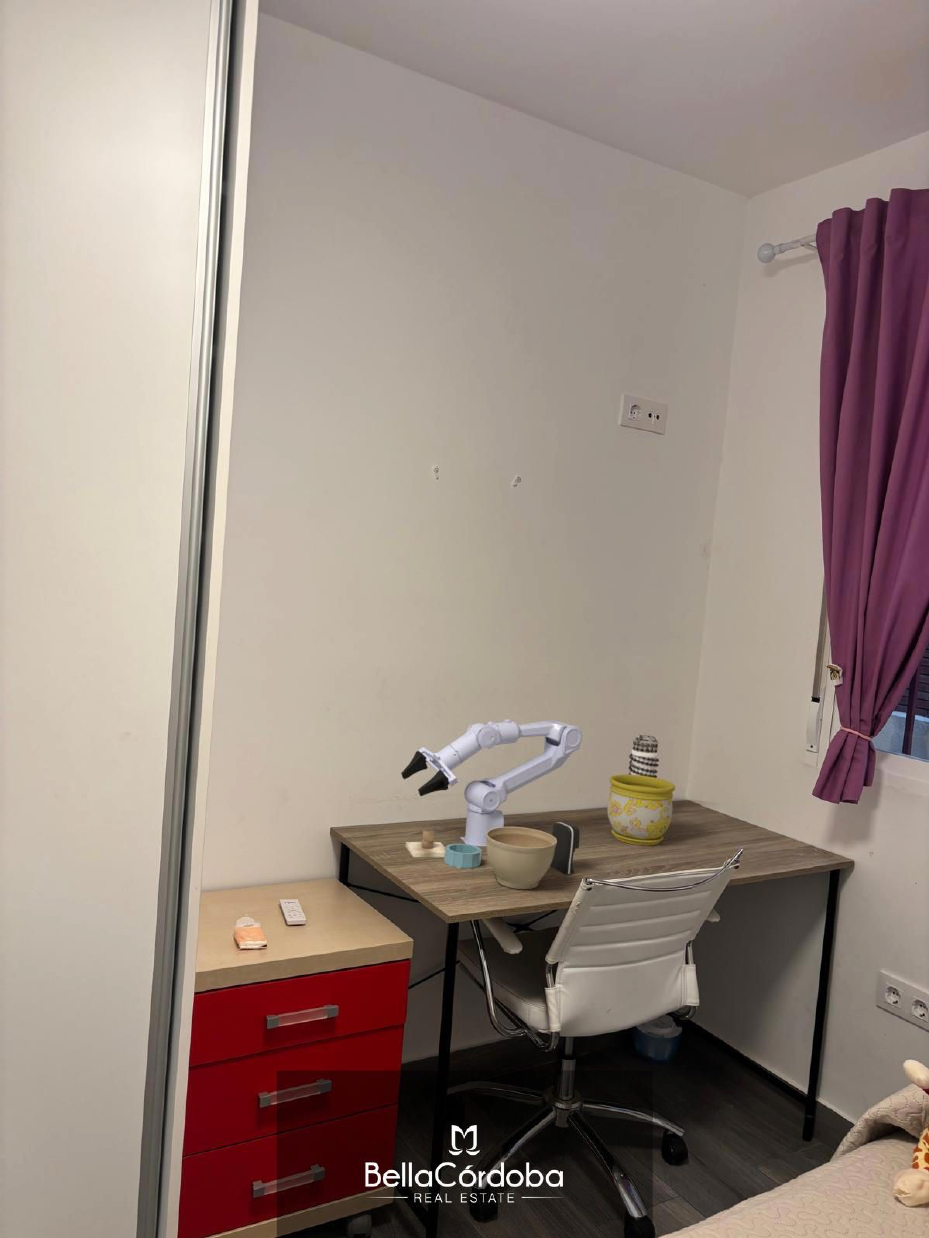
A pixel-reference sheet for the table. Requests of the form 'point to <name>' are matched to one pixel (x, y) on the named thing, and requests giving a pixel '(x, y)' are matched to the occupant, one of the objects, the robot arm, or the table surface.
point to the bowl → (462, 856)
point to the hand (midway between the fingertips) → (410, 784)
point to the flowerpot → (640, 808)
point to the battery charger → (565, 846)
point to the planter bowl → (519, 855)
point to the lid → (426, 846)
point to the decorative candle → (644, 756)
